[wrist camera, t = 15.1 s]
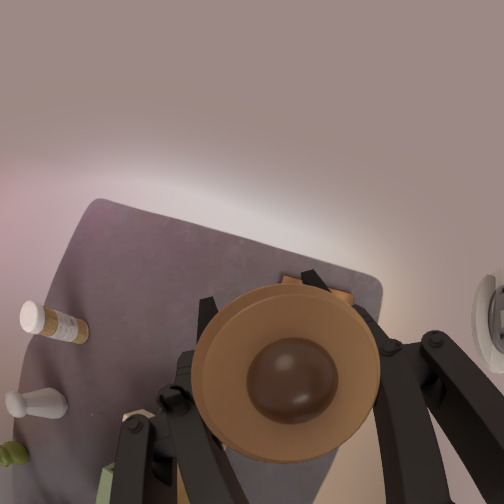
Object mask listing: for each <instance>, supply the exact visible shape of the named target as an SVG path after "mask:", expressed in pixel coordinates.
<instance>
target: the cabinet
mask: <svg viewBox="0 0 504 504" xmlns="http://www.w3.org/2000/svg"><path fill="white" fill-rule="evenodd" d="M114 465H115V462H114V463H112V464H110V465H108V466H106V467H104V468H103V469H102V474H101V478H100V483H99V488H98V493H97V498H96V503H95V504H109V501H110V493H111V485H112V478H113V471H114Z"/></svg>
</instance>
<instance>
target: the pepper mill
mask: <svg viewBox="0 0 504 504" xmlns="http://www.w3.org/2000/svg"><path fill="white" fill-rule="evenodd" d="M379 383H380V359H379V353H378V349H377V345H376V342H375V339H374V337H373V335H372V333H371V331H370V329H369V327H368V326H367V324H366V323H365V321H364V320H363V318H362V317H361V316H360V315H359V314H358V313H357V311H356V310H355V309H354V308H352V307H351V306H350V305H349V304H348V303H347V302H345V301H344V300H342V299H341V298H339V297H338V296H336V295H334V294H332V293H330V292H328V291H326V290H323V289H320V288H317V287H314V286H309V285H305V284H295V283H282V284H273V285H267V286H264V287H260V288H257V289H254V290H251V291H249V292H247V293H244V294H242V295H241V296H239V297H237V298H236V299H234V300H232V301H231V302H230V303H228V304H227V305H226V306H225V307H223V308H222V309H221V310H220V311H219V312H218V313H217V314H216V315H215V316H214V317H213V319H212V320H211V321H210V322H209V324H208V325H207V326H206V328H205V330H204V331H203V333H202V335H201V337H200V339H199V341H198V344H197V346H196V349H195V352H194V356H193V361H192V368H191V385H192V392H193V396H194V400H195V403H196V406H197V409H198V411H199V413H200V415H201V417H202V419H203V420H204V422H205V424H206V425H207V427H208V428H209V429H210V430H211V431H212V433H213V434H214V435H215V436H216V437H217V438H218V439H219V440H220V441H221V442H223V443H224V444H225V445H226V446H228V447H229V448H231V449H232V450H234V451H236V452H238V453H240V454H242V455H244V456H246V457H249V458H252V459H254V460H258V461H262V462H267V463H277V464H288V463H298V462H304V461H308V460H311V459H315V458H318V457H320V456H322V455H325V454H327V453H329V452H331V451H333V450H334V449H336V448H337V447H339V446H340V445H342V444H343V443H344V442H345V441H347V440H348V439H349V438H350V437H351V436H352V435H353V434H354V433H355V432H356V431H357V430H358V429H359V428H360V427H361V425H362V424H363V422H364V421H365V420H366V418H367V416H368V415H369V413H370V411H371V409H372V407H373V404H374V402H375V399H376V396H377V393H378V388H379Z"/></svg>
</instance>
